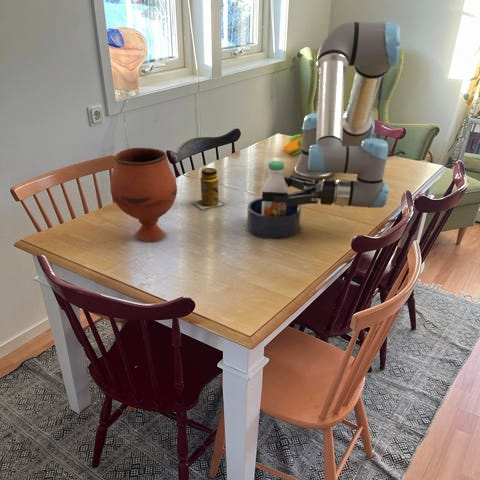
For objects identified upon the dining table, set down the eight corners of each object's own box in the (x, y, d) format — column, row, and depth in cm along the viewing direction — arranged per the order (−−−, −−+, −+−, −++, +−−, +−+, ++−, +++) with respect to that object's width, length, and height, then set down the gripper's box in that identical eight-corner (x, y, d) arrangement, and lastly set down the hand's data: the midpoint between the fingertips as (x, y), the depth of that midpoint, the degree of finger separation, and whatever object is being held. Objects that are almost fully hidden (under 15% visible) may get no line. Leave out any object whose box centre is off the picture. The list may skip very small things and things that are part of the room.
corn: (311, 132, 221) (292, 142, 207) (311, 149, 225) (291, 159, 211) (297, 131, 225) (277, 140, 211) (297, 147, 229) (277, 158, 215)
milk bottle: (256, 225, 153) (258, 162, 141) (271, 218, 158) (274, 157, 146) (274, 232, 149) (278, 168, 137) (290, 225, 153) (294, 162, 142)
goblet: (126, 222, 156) (114, 144, 142) (184, 223, 156) (179, 145, 141) (111, 249, 141) (97, 164, 126) (176, 250, 140) (169, 165, 126)
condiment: (223, 204, 169) (222, 171, 162) (202, 209, 165) (201, 175, 158) (212, 198, 174) (211, 165, 167) (192, 203, 170) (190, 169, 163)
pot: (283, 214, 163) (284, 194, 159) (308, 233, 150) (310, 212, 146) (239, 222, 157) (239, 201, 153) (261, 242, 145) (262, 221, 141)
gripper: (333, 220, 136) (259, 215, 139) (332, 189, 157) (268, 186, 159) (336, 195, 132) (260, 190, 134) (335, 167, 152) (269, 163, 155)
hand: (264, 188), depth 147 cm, fingers open, 13 cm apart
